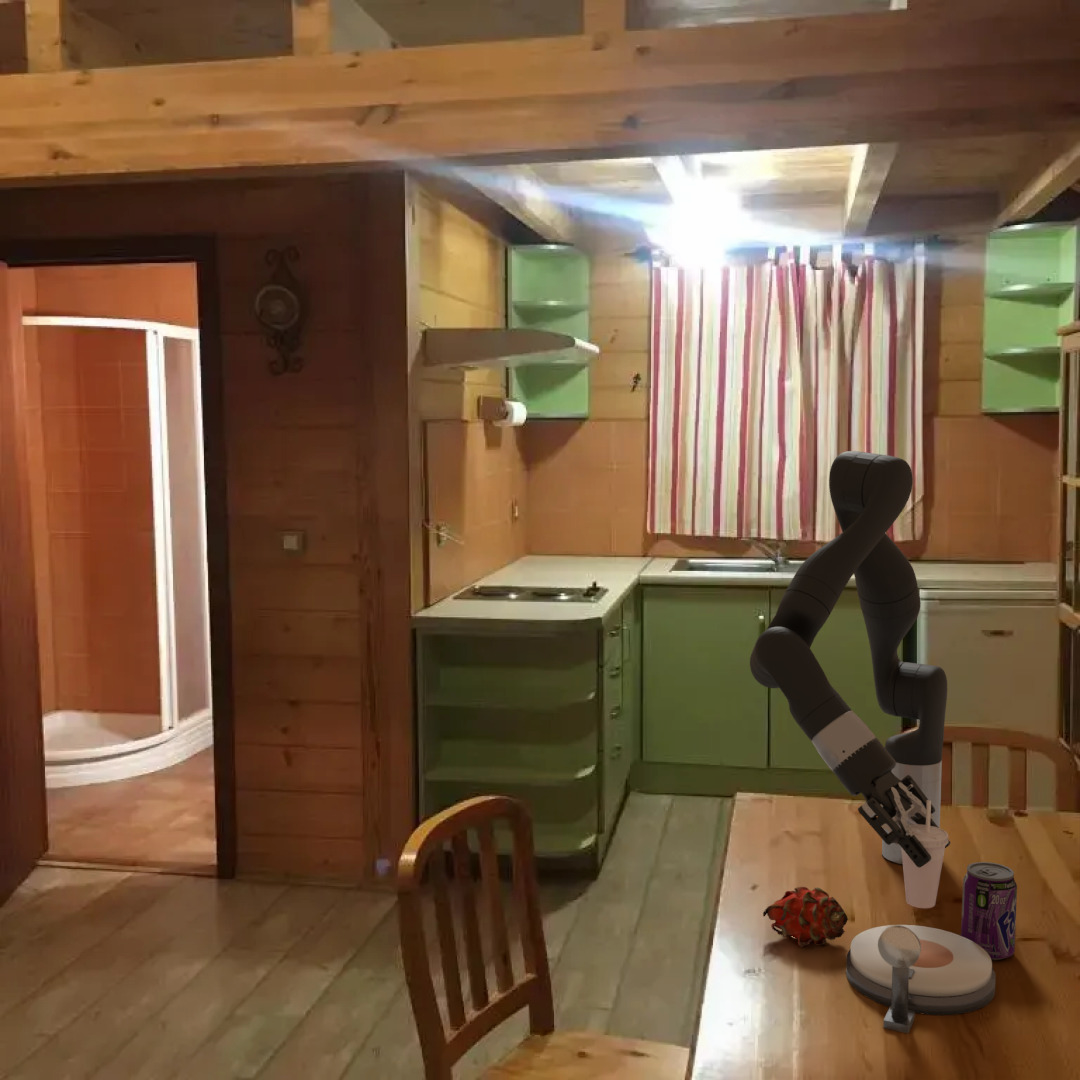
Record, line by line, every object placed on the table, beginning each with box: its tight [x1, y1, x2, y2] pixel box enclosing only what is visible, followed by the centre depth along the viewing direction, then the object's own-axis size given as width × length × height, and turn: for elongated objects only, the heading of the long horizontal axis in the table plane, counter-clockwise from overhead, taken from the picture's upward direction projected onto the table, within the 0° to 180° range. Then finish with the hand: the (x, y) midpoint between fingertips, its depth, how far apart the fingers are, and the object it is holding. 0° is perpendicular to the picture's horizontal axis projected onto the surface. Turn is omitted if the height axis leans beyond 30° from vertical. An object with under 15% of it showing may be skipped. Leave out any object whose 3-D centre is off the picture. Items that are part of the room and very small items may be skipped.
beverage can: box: [960, 861, 1018, 961], centre depth 172 cm, size 7×7×12 cm
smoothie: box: [901, 800, 949, 909], centre depth 163 cm, size 6×6×14 cm
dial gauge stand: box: [878, 924, 921, 1034], centre depth 153 cm, size 5×5×13 cm
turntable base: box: [845, 948, 996, 1016], centre depth 165 cm, size 19×19×2 cm
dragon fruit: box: [762, 886, 849, 947], centre depth 177 cm, size 8×8×12 cm
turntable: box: [850, 924, 993, 997], centre depth 165 cm, size 18×18×2 cm
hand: (935, 855), depth 162 cm, fingers closed on smoothie, 6 cm apart
